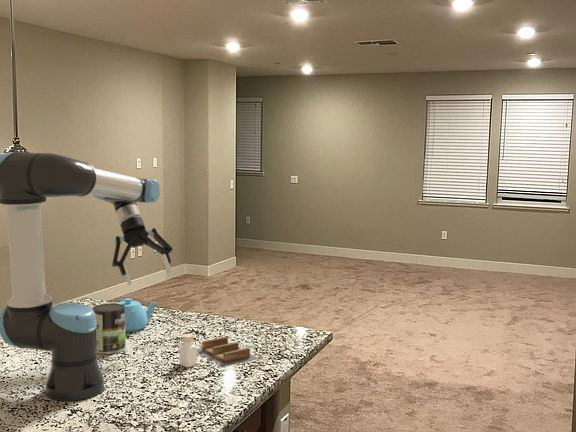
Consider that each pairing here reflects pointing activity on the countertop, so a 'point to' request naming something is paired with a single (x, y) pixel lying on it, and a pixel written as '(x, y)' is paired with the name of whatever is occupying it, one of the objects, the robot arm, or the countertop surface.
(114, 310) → the coffee can
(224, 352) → the rack
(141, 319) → the teapot
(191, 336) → the salt shaker
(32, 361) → the countertop surface
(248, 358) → the mat
